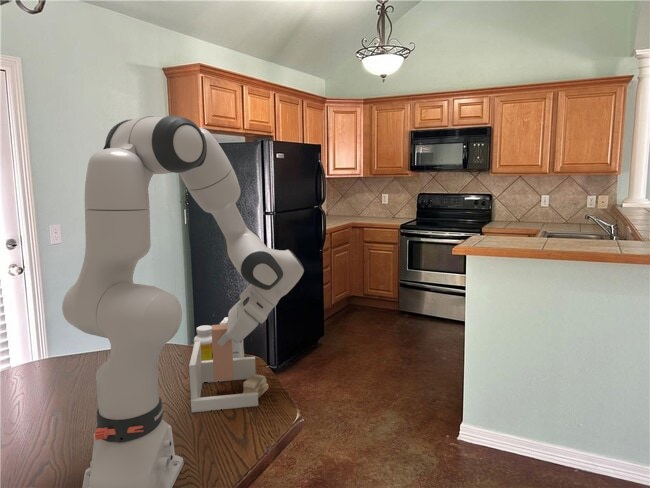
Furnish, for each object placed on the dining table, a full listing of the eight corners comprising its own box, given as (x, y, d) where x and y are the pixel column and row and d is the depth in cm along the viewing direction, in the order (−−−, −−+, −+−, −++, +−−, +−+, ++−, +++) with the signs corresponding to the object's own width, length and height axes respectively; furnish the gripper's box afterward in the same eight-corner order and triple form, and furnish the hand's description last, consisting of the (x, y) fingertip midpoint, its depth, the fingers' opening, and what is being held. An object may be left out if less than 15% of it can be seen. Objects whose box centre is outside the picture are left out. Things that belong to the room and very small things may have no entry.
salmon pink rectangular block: (233, 379, 124) (231, 328, 122) (214, 380, 123) (211, 330, 121) (233, 372, 128) (231, 323, 126) (214, 374, 127) (212, 325, 125)
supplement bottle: (214, 372, 139) (212, 331, 137) (192, 372, 139) (190, 331, 137) (220, 363, 145) (218, 323, 143) (198, 363, 145) (196, 324, 143)
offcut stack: (254, 402, 121) (253, 386, 121) (240, 400, 123) (239, 384, 122) (268, 388, 129) (268, 373, 128) (255, 386, 130) (254, 371, 130)
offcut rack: (258, 405, 119) (256, 361, 117) (191, 412, 117) (188, 367, 115) (255, 375, 136) (254, 336, 134) (197, 381, 134) (195, 341, 132)
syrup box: (241, 368, 142) (239, 322, 139) (221, 368, 142) (219, 322, 139) (244, 360, 147) (242, 316, 145) (226, 360, 147) (223, 316, 145)
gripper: (246, 284, 133) (212, 320, 133) (247, 305, 114) (208, 346, 113) (262, 299, 135) (229, 333, 135) (266, 321, 115) (227, 362, 115)
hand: (219, 339), depth 124 cm, fingers closed on salmon pink rectangular block, 4 cm apart
